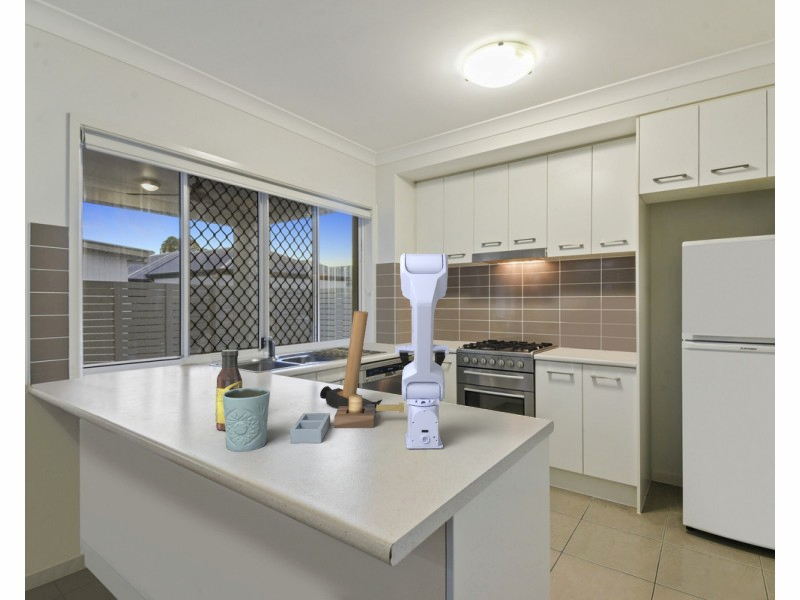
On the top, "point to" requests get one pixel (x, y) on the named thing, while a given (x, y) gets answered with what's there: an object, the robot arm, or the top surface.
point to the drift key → (391, 408)
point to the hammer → (350, 366)
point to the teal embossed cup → (246, 418)
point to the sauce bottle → (226, 383)
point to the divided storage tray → (310, 428)
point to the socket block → (355, 417)
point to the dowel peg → (355, 404)
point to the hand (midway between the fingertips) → (422, 378)
